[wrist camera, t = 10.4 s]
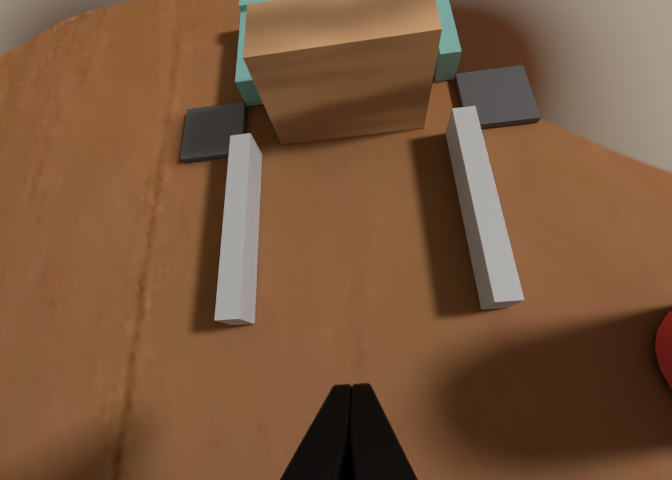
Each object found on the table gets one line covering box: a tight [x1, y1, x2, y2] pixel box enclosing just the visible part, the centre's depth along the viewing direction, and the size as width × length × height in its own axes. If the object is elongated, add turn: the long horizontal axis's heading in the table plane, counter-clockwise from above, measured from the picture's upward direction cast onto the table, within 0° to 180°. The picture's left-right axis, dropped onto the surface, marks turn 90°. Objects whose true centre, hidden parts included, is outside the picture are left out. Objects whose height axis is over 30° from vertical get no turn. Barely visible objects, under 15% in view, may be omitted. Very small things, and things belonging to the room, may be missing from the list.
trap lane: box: [180, 0, 541, 325], centre depth 24 cm, size 28×27×3 cm
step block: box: [243, 0, 442, 145], centre depth 24 cm, size 11×11×8 cm
